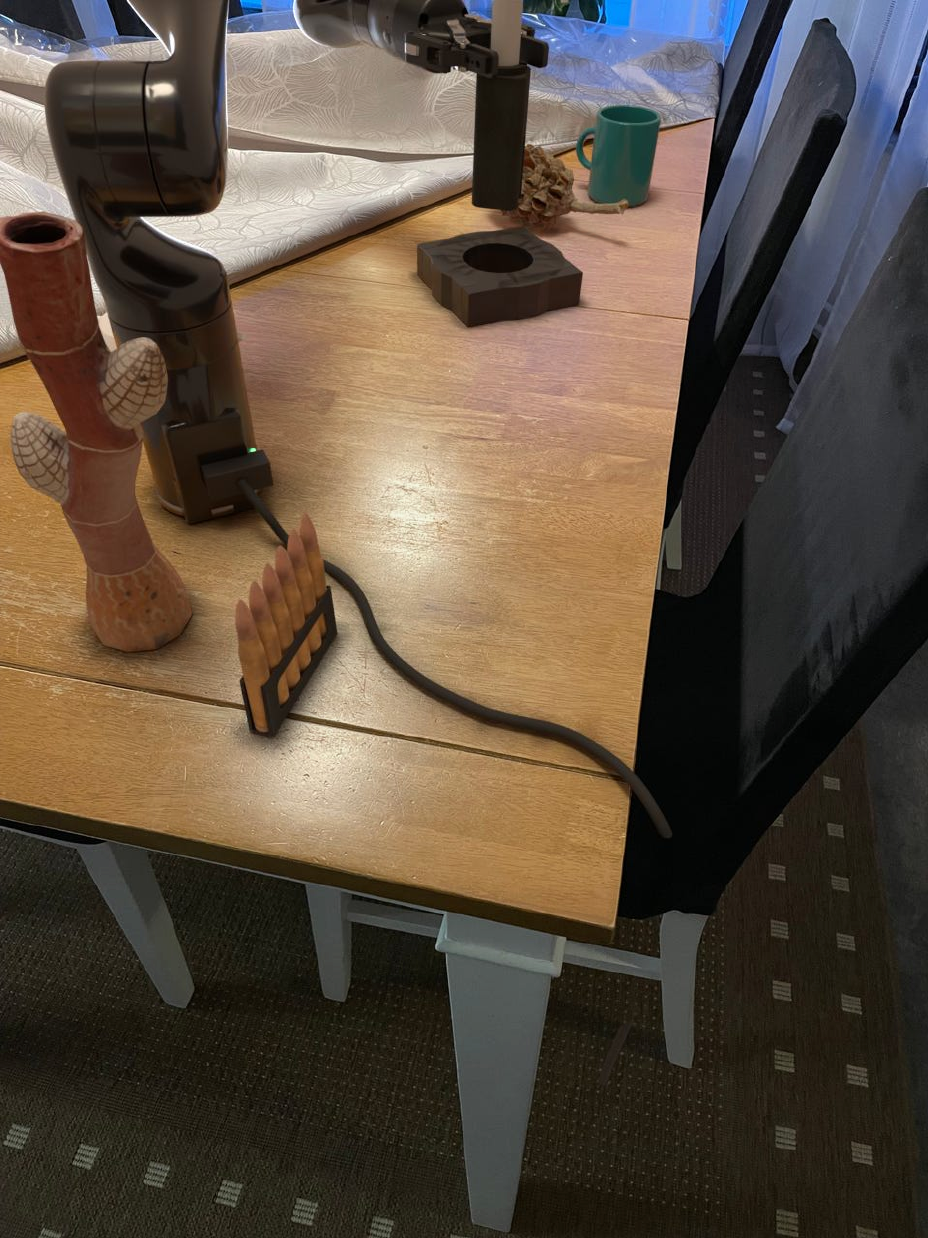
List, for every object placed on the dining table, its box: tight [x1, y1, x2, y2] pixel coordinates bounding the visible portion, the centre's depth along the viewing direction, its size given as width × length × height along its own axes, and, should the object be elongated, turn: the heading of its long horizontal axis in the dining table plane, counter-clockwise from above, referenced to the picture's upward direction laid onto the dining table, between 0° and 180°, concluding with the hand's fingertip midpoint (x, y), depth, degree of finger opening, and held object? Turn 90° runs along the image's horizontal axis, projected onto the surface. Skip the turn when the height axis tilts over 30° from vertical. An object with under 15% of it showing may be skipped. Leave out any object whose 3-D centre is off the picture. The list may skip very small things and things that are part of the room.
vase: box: [0, 211, 193, 653], centre depth 56 cm, size 10×7×30 cm
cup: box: [575, 104, 662, 208], centre depth 128 cm, size 9×12×11 cm
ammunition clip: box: [234, 512, 338, 738], centre depth 59 cm, size 11×2×12 cm, turn 162°
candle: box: [471, 0, 532, 211], centre depth 89 cm, size 5×5×25 cm
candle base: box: [416, 225, 584, 328], centre depth 107 cm, size 16×16×4 cm
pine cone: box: [500, 143, 629, 230], centre depth 119 cm, size 22×10×10 cm, turn 65°
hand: (520, 60), depth 86 cm, fingers closed on candle, 6 cm apart
